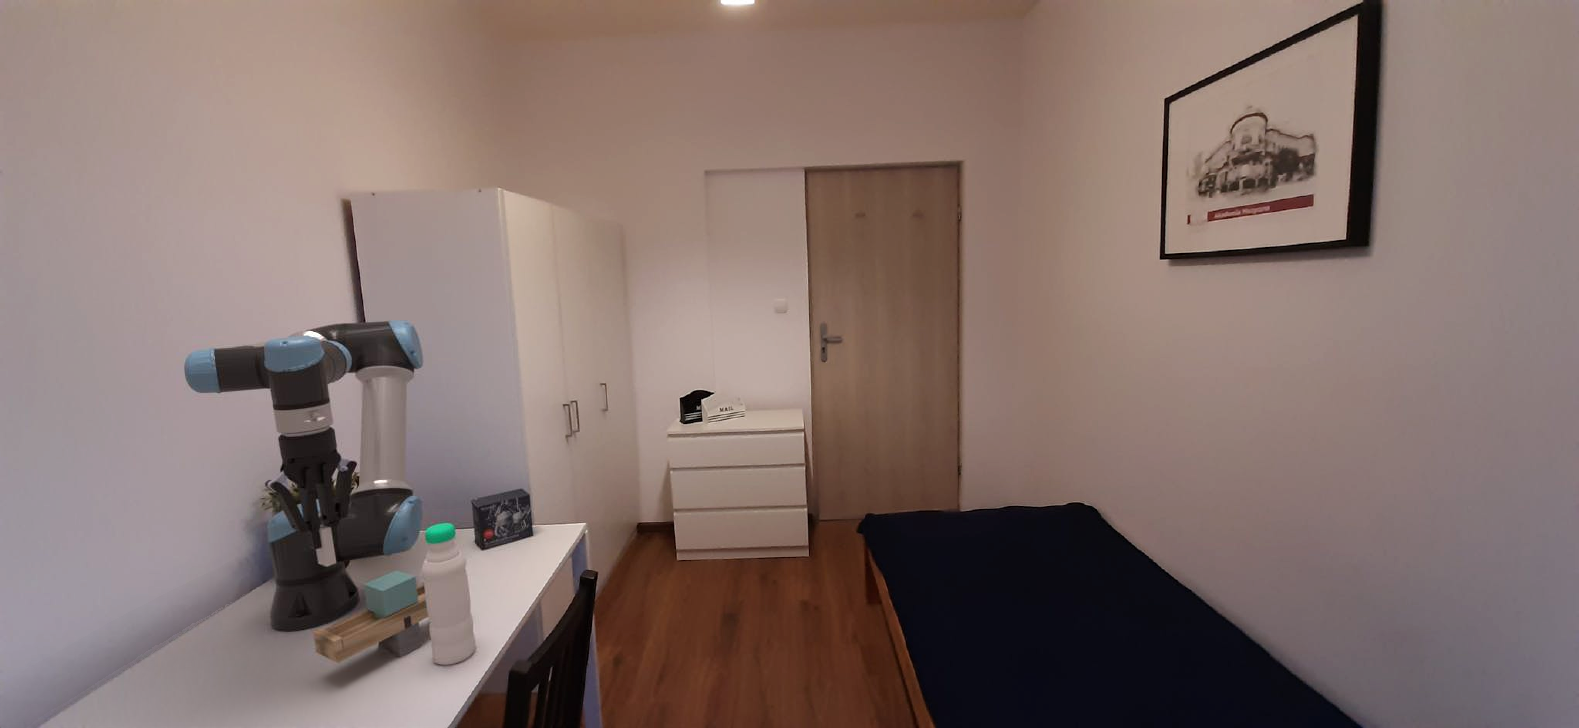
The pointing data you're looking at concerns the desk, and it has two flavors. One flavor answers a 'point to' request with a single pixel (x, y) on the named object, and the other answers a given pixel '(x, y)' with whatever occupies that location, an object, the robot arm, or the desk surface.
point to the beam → (374, 632)
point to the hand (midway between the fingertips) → (327, 563)
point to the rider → (390, 593)
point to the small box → (502, 518)
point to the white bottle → (447, 597)
